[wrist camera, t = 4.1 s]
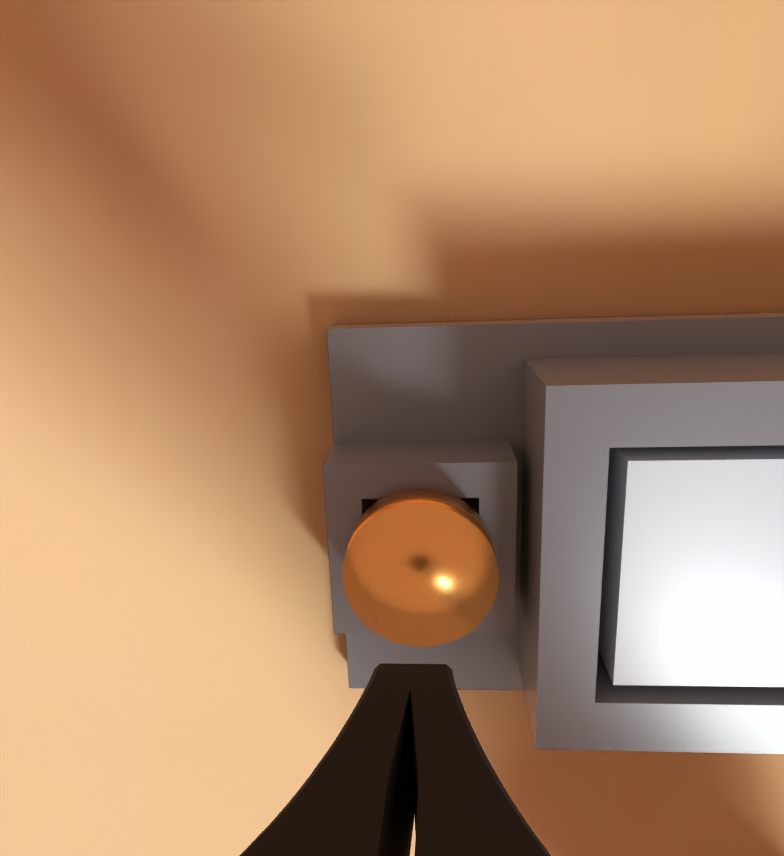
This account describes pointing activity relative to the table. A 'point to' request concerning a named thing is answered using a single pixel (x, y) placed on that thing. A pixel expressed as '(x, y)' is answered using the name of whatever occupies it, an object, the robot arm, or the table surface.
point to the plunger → (420, 568)
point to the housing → (548, 494)
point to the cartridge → (694, 566)
